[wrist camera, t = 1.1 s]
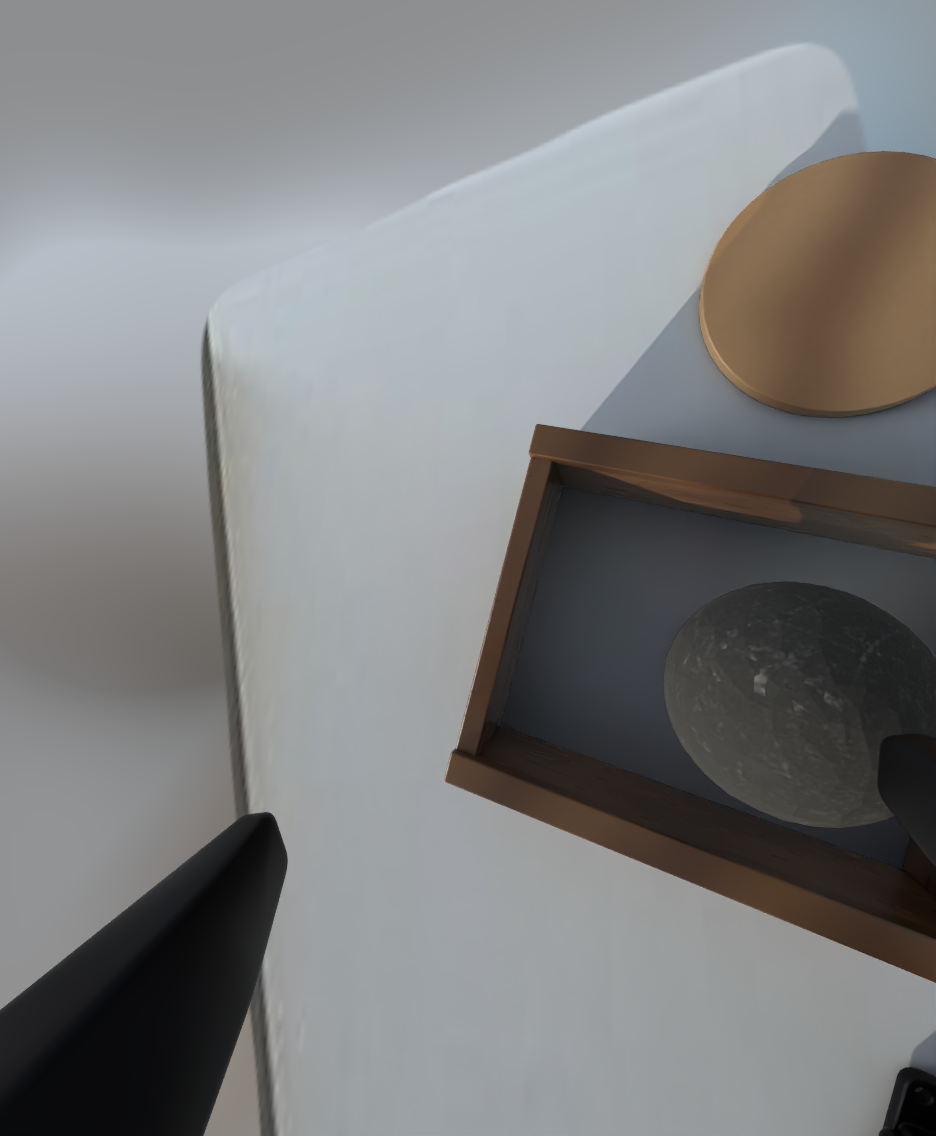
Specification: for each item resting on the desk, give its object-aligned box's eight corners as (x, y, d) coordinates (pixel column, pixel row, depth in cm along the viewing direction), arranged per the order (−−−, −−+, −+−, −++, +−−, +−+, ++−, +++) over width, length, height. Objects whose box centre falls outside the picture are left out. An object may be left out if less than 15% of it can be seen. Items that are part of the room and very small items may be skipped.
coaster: (1039, 164, 16) (1056, 148, 15) (965, 437, 16) (979, 431, 15) (732, 165, 19) (737, 151, 18) (671, 398, 19) (674, 392, 18)
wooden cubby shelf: (1021, 548, 15) (1205, 529, 11) (923, 905, 16) (1062, 1035, 11) (549, 462, 20) (536, 422, 15) (477, 739, 20) (443, 782, 16)
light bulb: (618, 692, 19) (646, 798, 9) (666, 567, 18) (744, 538, 9) (763, 752, 17) (981, 955, 8) (817, 615, 17) (1111, 645, 7)
